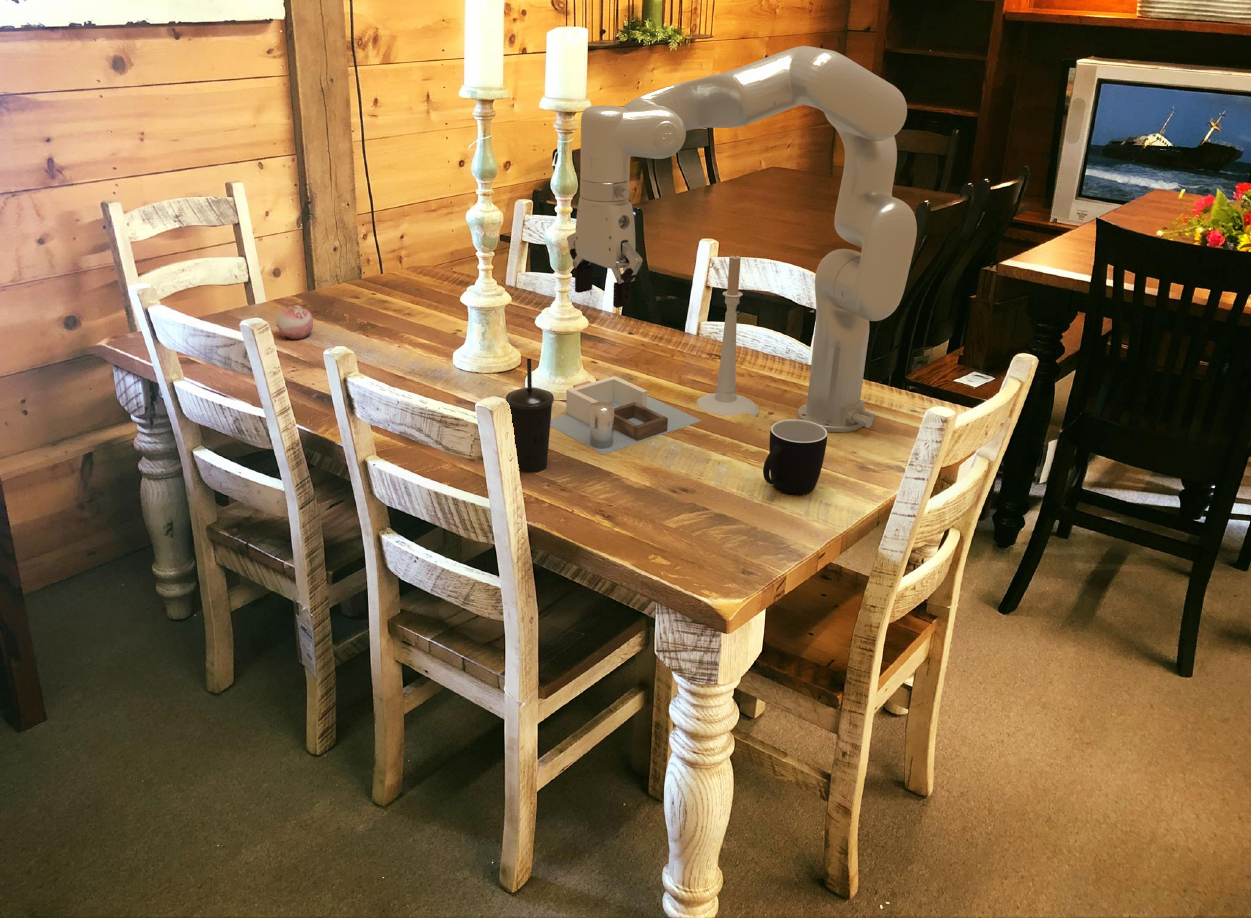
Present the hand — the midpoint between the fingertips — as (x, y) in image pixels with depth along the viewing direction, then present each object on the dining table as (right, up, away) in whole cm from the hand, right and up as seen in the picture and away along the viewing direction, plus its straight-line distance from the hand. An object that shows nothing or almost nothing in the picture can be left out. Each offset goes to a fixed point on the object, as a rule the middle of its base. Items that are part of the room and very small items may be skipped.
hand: (602, 298), depth 169 cm
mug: (+30, -31, +1) cm, 43 cm away
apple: (-68, +1, +62) cm, 92 cm away
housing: (-1, -17, +24) cm, 29 cm away
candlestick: (+22, -17, +29) cm, 40 cm away
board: (+3, -20, +21) cm, 29 cm away
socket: (+5, -20, +18) cm, 27 cm away
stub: (0, -23, +11) cm, 26 cm away
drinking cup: (-12, -28, +4) cm, 31 cm away
